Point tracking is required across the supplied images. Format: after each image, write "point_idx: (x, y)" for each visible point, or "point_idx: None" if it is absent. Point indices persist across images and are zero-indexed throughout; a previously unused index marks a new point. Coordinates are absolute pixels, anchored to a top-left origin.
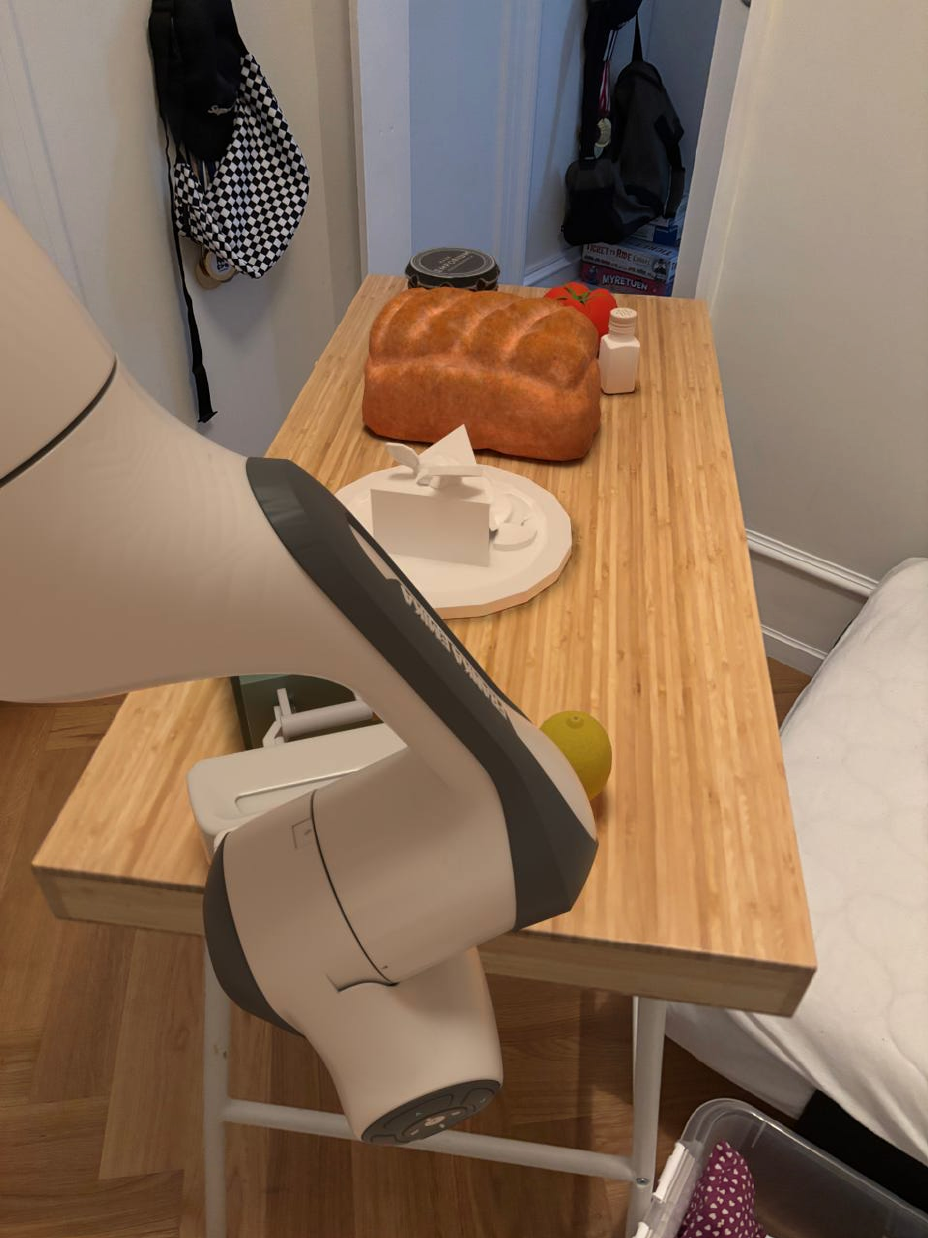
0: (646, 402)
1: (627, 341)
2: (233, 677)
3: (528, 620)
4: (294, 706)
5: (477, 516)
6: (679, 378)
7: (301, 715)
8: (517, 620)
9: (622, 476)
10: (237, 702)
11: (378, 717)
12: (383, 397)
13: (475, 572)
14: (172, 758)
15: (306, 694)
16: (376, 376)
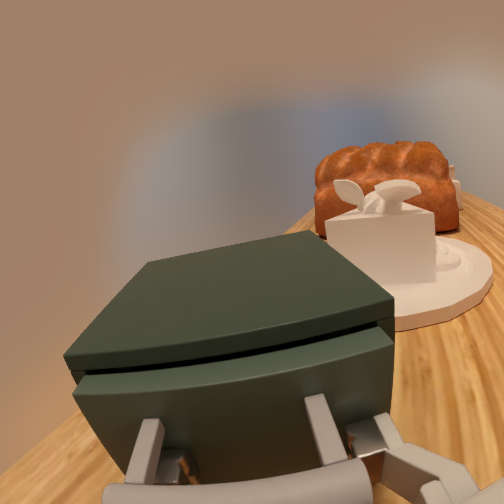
0: (470, 211)
1: (453, 179)
2: (79, 381)
3: (491, 315)
4: (180, 458)
5: (424, 229)
6: (477, 204)
7: (153, 497)
8: (482, 317)
9: (485, 233)
10: None
11: (370, 481)
12: (327, 208)
13: (427, 287)
14: (77, 473)
15: (211, 436)
16: (321, 196)
